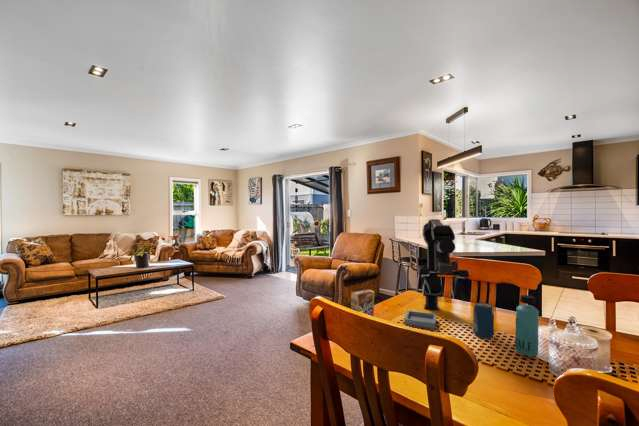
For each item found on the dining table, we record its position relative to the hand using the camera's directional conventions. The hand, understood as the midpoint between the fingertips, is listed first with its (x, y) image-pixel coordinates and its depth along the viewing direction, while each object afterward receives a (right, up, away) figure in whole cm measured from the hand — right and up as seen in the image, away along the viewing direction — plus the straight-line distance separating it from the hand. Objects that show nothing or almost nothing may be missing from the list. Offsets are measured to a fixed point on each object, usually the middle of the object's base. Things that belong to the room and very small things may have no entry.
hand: (442, 294), depth 121 cm
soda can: (+13, -14, -6) cm, 20 cm away
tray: (-6, -14, +7) cm, 17 cm away
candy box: (-33, -14, -2) cm, 35 cm away
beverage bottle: (+19, -15, -22) cm, 32 cm away
